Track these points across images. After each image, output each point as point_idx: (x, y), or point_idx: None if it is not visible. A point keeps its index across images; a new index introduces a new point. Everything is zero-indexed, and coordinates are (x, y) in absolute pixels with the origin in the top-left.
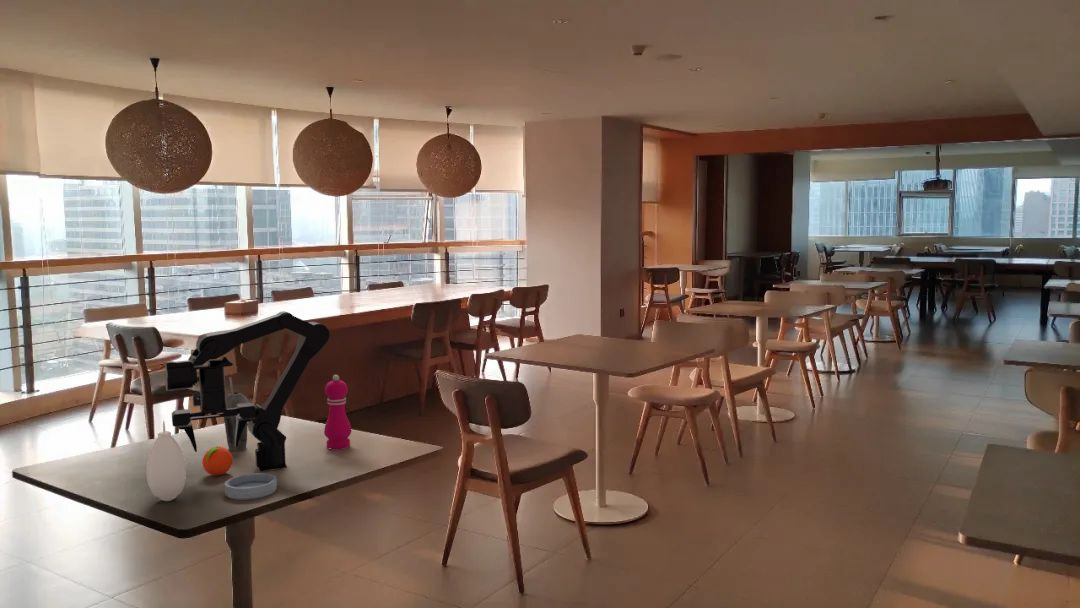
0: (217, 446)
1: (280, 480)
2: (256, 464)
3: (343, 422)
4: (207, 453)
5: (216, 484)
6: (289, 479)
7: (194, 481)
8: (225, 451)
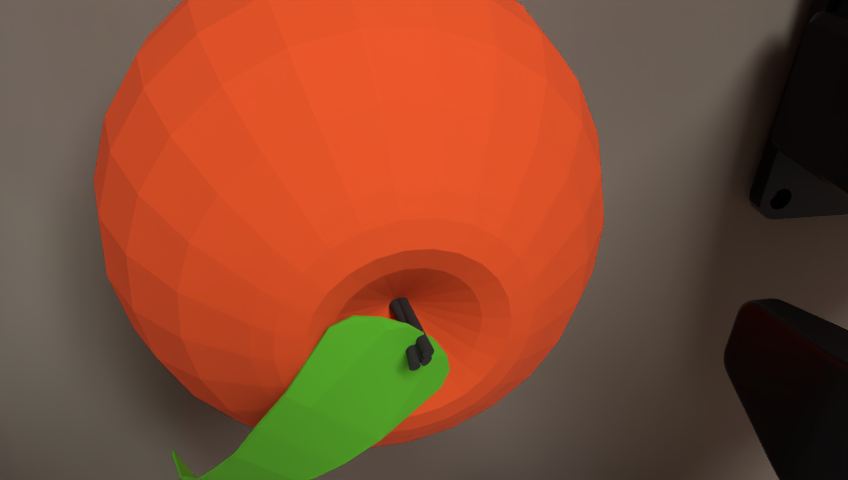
0: (430, 359)
1: (752, 469)
2: (797, 107)
3: None
4: (200, 380)
5: None
6: None
7: (6, 258)
8: (519, 379)
